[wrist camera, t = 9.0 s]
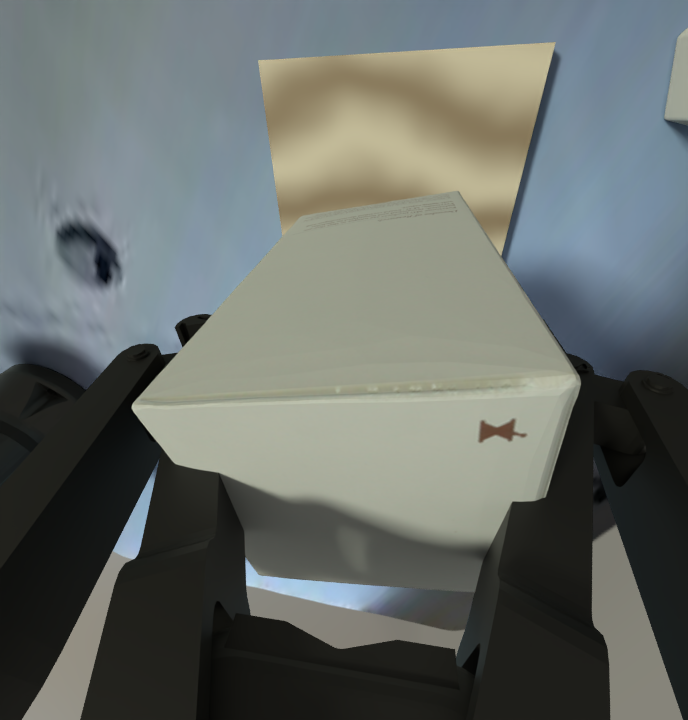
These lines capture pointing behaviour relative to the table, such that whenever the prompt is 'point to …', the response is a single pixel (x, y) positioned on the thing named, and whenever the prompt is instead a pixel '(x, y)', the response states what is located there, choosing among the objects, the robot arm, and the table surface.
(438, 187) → the birch board
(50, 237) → the table surface
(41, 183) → the table surface
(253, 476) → the supplement box
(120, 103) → the table surface
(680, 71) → the jar
